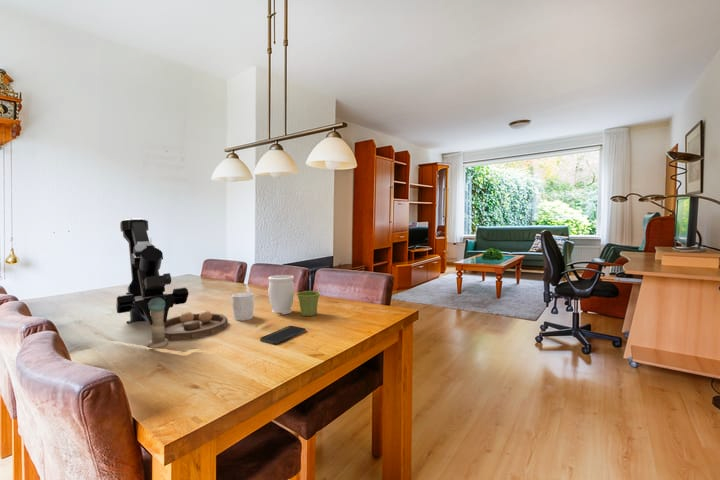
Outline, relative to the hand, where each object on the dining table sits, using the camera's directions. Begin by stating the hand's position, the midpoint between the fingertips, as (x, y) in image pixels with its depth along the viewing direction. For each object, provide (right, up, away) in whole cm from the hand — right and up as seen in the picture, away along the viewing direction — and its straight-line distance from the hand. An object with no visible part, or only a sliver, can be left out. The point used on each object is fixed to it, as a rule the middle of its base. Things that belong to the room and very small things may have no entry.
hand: (158, 323), depth 100 cm
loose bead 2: (+4, -5, +22) cm, 23 cm away
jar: (+28, -5, +39) cm, 48 cm away
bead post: (-1, -7, +1) cm, 7 cm away
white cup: (+15, -6, +29) cm, 33 cm away
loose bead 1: (-2, -5, +21) cm, 22 cm away
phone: (+35, -8, +11) cm, 37 cm away
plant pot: (+39, -6, +36) cm, 54 cm away
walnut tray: (+2, -7, +16) cm, 18 cm away
